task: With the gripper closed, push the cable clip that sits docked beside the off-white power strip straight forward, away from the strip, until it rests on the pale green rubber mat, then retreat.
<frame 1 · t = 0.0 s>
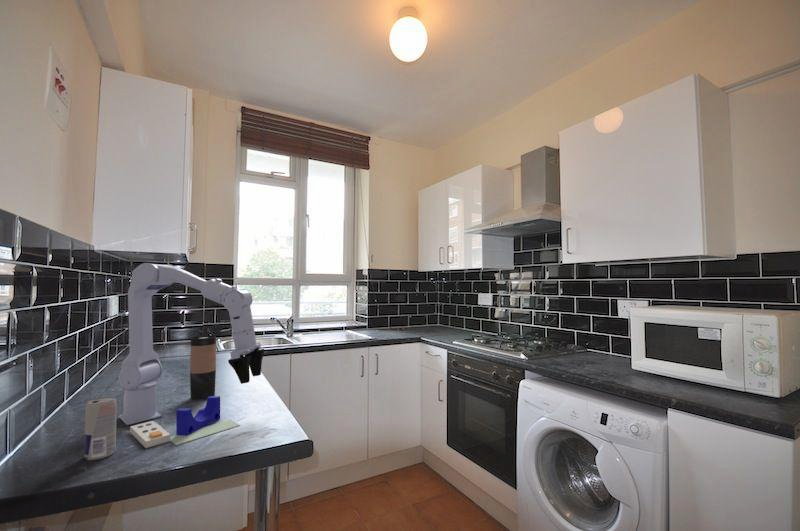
hand: (251, 379, 102), 11 cm above the countertop, tool pointing down, fingers open, 7 cm apart
mat: (205, 431, 91), on the countertop
power strip: (149, 436, 89), on the countertop
cable clip: (197, 426, 95), on the countertop, touching mat
travel mug: (202, 397, 121), on the countertop
energy drink: (100, 456, 80), on the countertop
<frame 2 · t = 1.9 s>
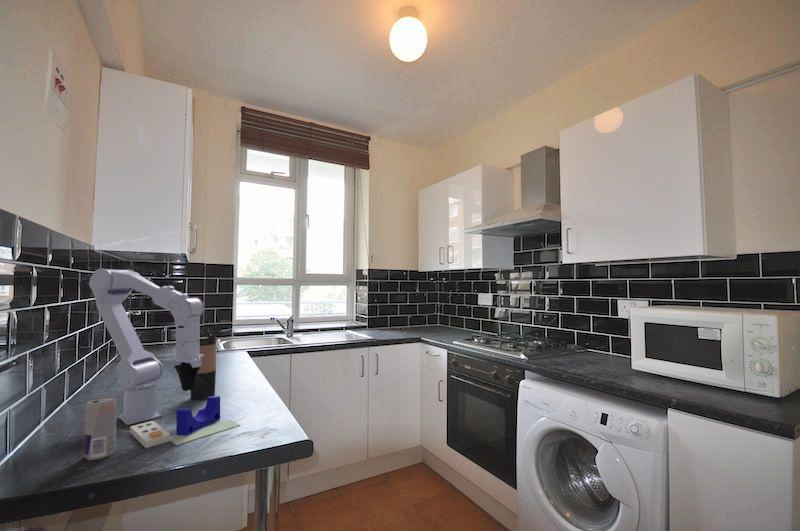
hand: (187, 390, 100), 8 cm above the countertop, tool pointing down, fingers closed
nothing on the countertop moved.
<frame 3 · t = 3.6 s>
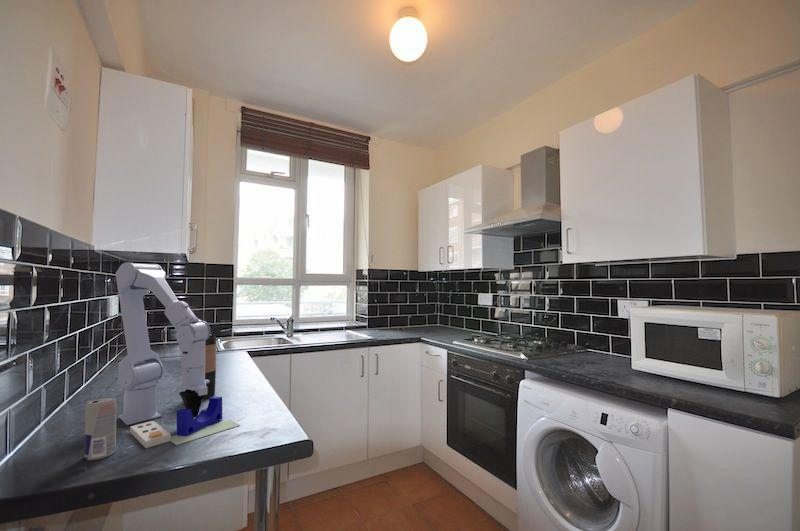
hand: (192, 417, 97), 2 cm above the countertop, tool pointing down, fingers closed
cable clip: (198, 427, 95), on the countertop, touching gripper
everything else where it was.
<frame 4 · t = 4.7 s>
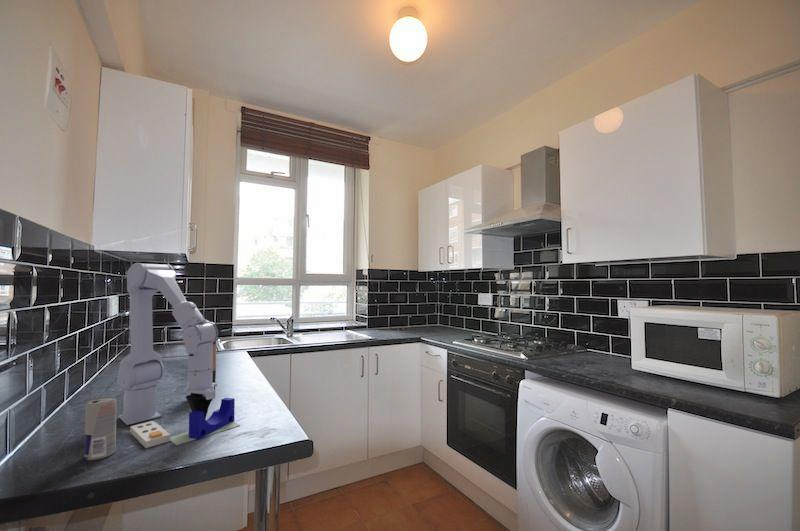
hand: (199, 422, 94), 2 cm above the countertop, tool pointing down, fingers closed
cable clip: (210, 429, 93), resting on mat, touching gripper
everything else where it was.
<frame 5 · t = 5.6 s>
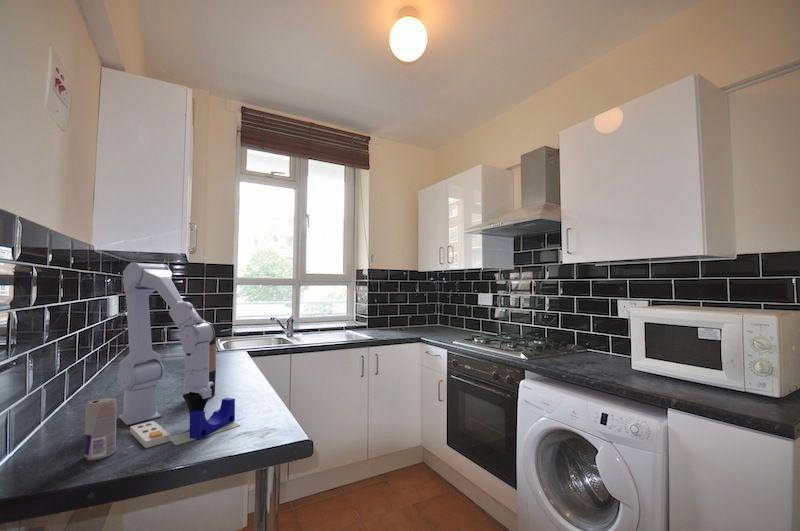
hand: (196, 420, 95), 2 cm above the countertop, tool pointing down, fingers closed
cable clip: (211, 429, 93), resting on mat
everything else where it was.
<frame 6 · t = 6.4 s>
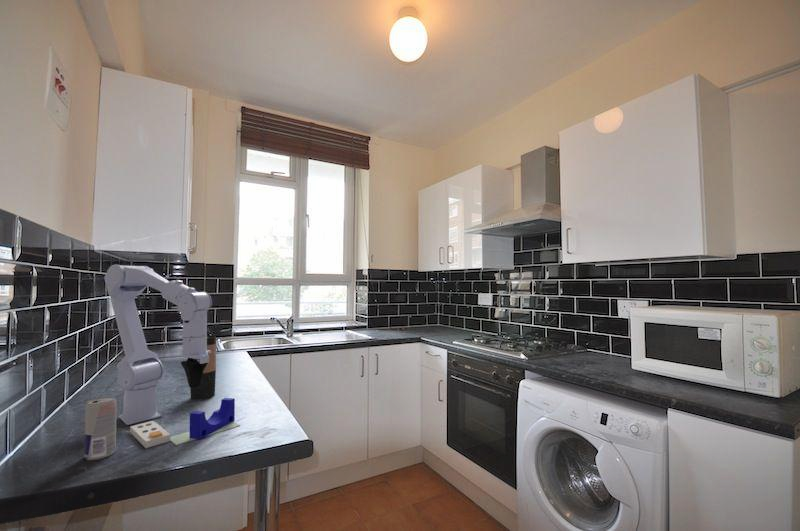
hand: (194, 386, 97), 10 cm above the countertop, tool pointing down, fingers closed
nothing on the countertop moved.
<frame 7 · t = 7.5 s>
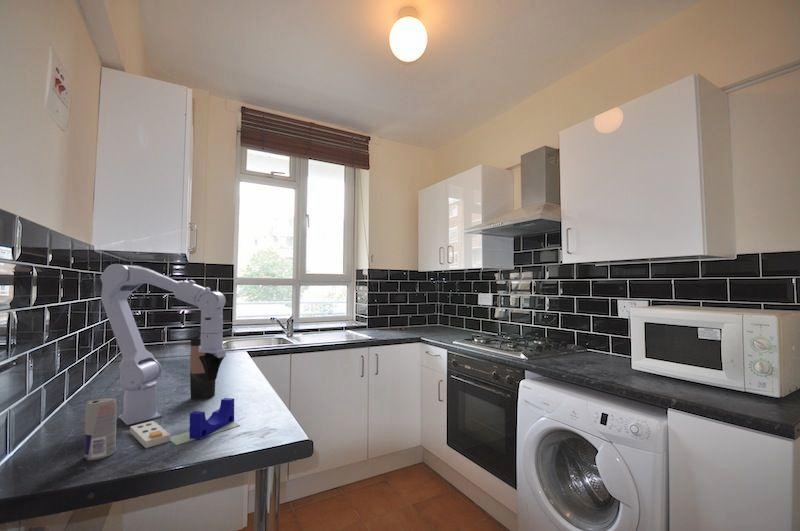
hand: (211, 379, 104), 10 cm above the countertop, tool pointing down, fingers closed
nothing on the countertop moved.
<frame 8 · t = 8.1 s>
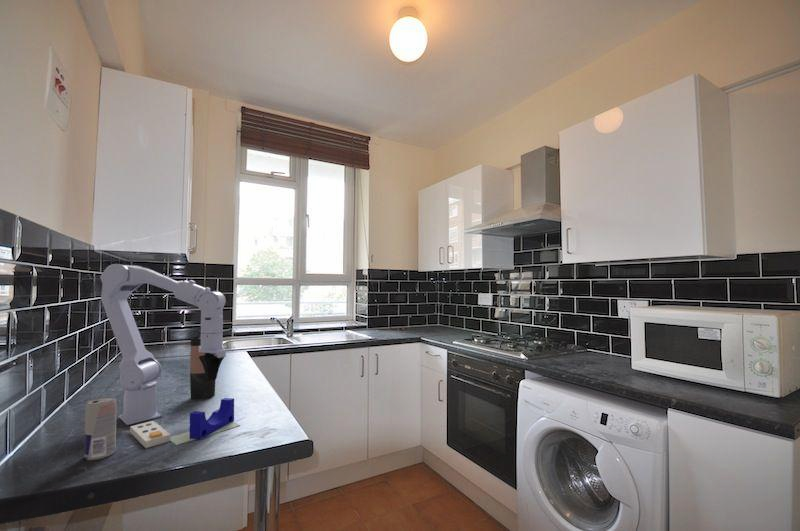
hand: (211, 379, 104), 10 cm above the countertop, tool pointing down, fingers closed
nothing on the countertop moved.
at the end: cable clip inside the target area on the mat (1.6 cm from its centre), point 0.0 cm above the mat's base; cable clip moved 5.3 cm from its start; cable clip touching mat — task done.
